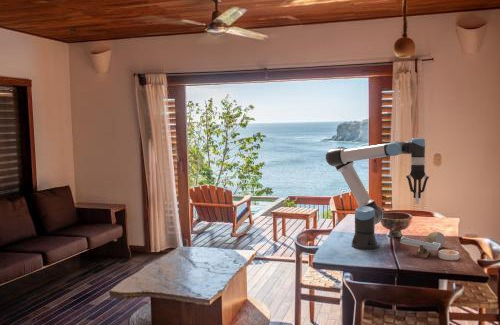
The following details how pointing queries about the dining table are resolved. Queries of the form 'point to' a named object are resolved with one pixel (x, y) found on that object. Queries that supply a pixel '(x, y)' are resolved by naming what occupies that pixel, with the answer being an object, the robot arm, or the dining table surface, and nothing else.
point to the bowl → (448, 255)
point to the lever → (420, 243)
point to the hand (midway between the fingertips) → (417, 203)
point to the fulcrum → (422, 252)
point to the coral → (436, 238)
